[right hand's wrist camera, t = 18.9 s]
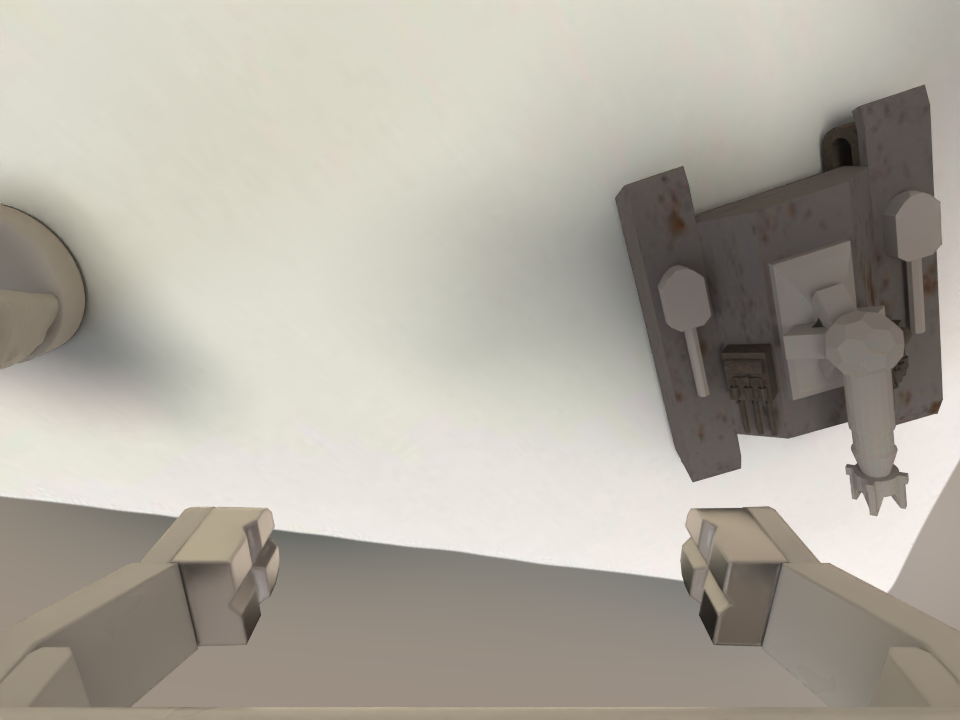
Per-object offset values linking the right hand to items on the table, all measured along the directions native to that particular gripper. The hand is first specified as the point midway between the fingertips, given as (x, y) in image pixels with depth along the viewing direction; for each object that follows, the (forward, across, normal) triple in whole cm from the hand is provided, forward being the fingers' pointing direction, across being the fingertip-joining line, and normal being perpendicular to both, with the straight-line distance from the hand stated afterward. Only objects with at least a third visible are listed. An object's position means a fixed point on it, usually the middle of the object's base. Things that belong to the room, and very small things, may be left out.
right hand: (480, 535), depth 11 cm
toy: (+36, +24, -4) cm, 43 cm away
